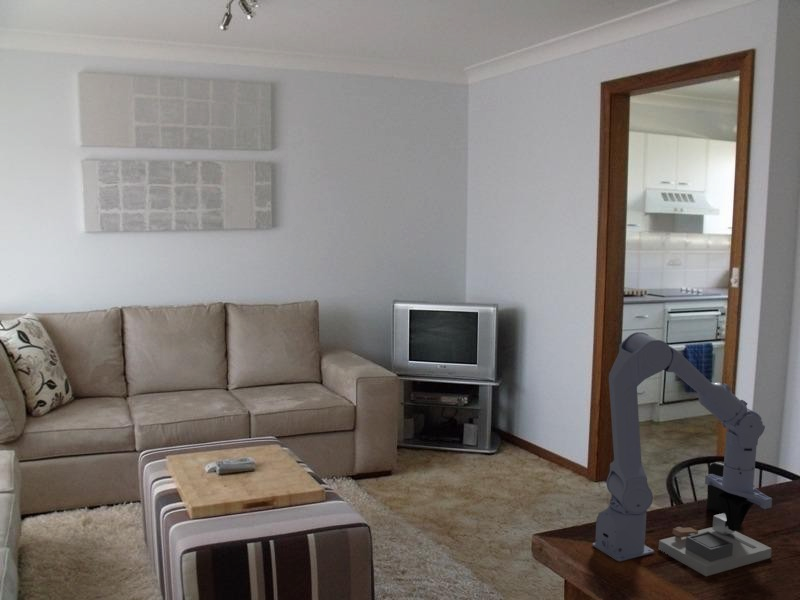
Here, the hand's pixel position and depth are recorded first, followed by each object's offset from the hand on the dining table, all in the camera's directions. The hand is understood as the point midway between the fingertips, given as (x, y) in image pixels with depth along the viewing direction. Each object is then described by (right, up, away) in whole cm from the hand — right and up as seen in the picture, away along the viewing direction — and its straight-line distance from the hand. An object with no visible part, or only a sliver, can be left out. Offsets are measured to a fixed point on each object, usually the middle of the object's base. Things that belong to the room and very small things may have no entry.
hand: (734, 529), depth 152 cm
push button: (-8, -2, -6) cm, 10 cm away
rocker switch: (-10, 0, -1) cm, 11 cm away
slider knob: (-1, -1, +2) cm, 3 cm away
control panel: (-5, -4, -3) cm, 7 cm away
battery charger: (+6, -2, +18) cm, 19 cm away
